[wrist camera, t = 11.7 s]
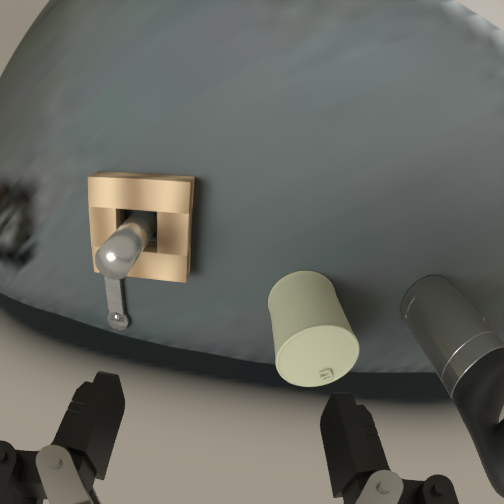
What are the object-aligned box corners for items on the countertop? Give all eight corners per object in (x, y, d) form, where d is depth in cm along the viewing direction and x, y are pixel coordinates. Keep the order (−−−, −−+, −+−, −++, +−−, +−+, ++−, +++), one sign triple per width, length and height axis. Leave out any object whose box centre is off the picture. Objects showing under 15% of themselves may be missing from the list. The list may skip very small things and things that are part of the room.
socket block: (194, 176, 35) (190, 182, 32) (189, 270, 40) (186, 282, 37) (98, 171, 34) (87, 176, 31) (103, 261, 39) (94, 271, 36)
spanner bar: (102, 261, 39) (99, 264, 38) (124, 263, 39) (121, 267, 38) (110, 324, 43) (108, 328, 42) (130, 327, 44) (128, 331, 43)
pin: (158, 209, 36) (129, 246, 26) (158, 237, 38) (131, 282, 28) (130, 207, 36) (93, 242, 26) (131, 234, 38) (96, 277, 28)
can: (284, 336, 45) (294, 400, 34) (256, 288, 41) (260, 350, 30) (343, 310, 43) (369, 370, 32) (321, 258, 40) (348, 314, 29)
